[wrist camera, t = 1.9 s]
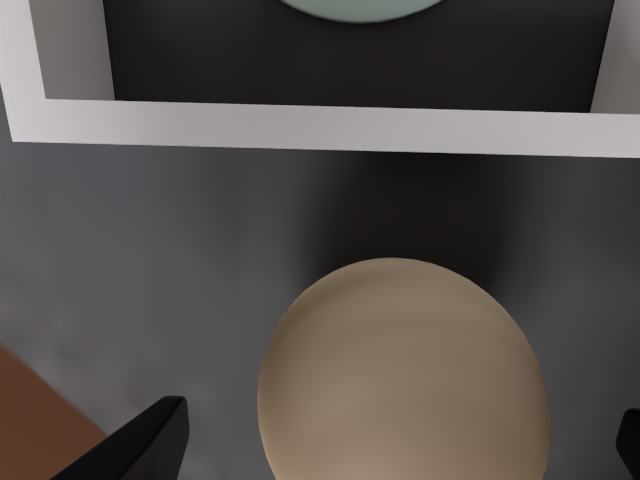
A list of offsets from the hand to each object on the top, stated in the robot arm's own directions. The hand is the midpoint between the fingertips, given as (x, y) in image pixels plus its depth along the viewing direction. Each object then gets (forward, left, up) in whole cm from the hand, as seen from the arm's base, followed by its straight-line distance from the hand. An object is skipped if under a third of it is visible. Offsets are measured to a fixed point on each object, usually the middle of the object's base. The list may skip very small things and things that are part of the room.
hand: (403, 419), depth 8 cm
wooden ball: (0, 0, -4) cm, 4 cm away
